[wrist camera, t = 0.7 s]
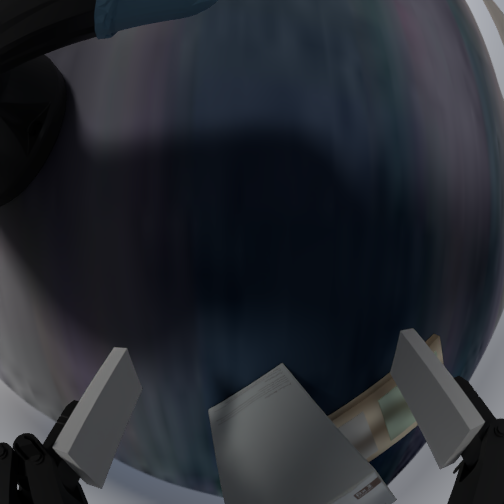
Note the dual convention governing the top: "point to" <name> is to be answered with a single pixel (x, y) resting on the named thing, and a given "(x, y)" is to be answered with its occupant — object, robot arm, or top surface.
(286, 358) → the top surface
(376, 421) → the board
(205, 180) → the top surface
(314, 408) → the skincare box
